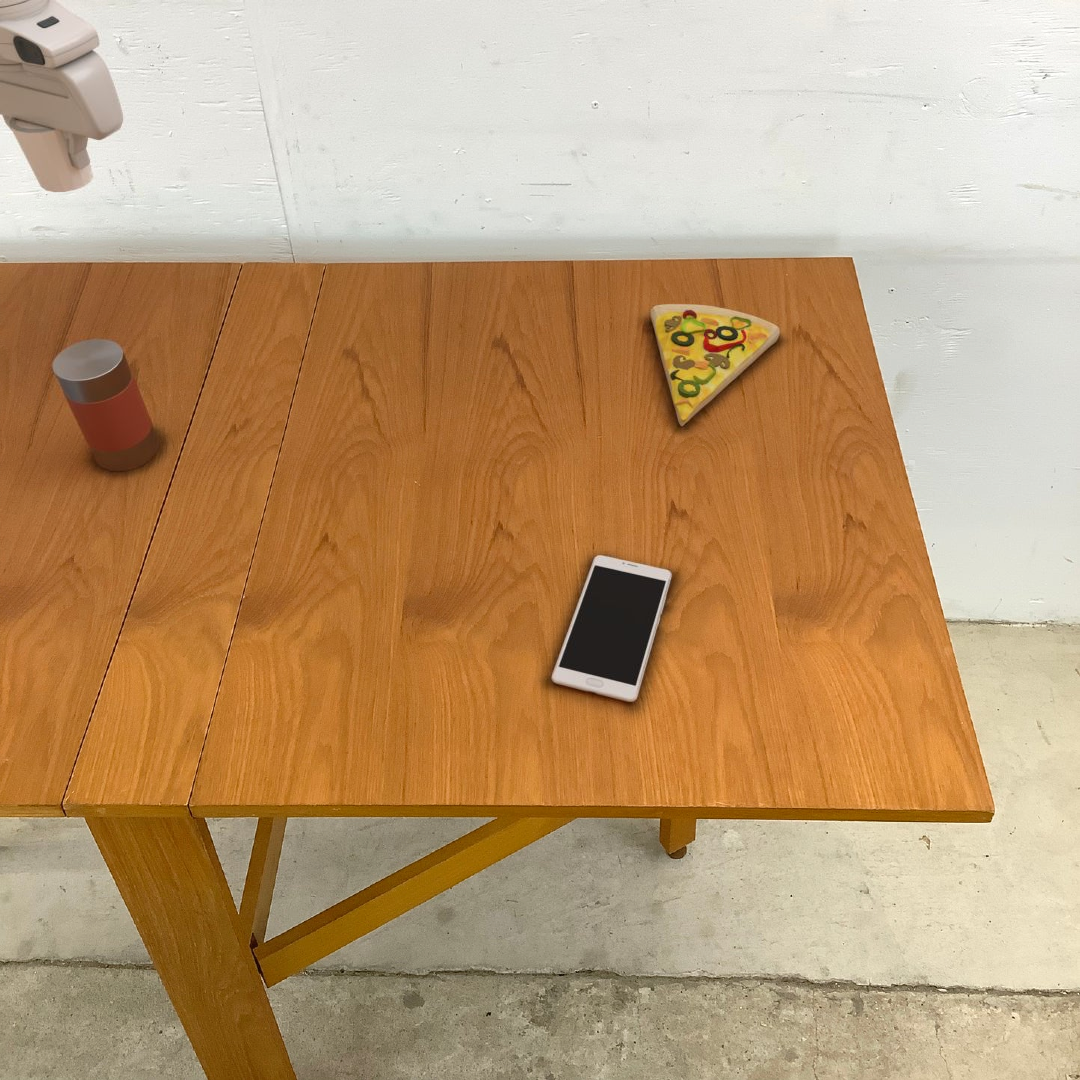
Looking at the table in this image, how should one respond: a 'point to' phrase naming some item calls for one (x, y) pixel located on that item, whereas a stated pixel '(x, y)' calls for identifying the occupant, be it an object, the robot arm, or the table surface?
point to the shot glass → (49, 157)
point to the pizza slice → (706, 350)
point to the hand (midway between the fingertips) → (59, 159)
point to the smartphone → (613, 628)
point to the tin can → (106, 404)
